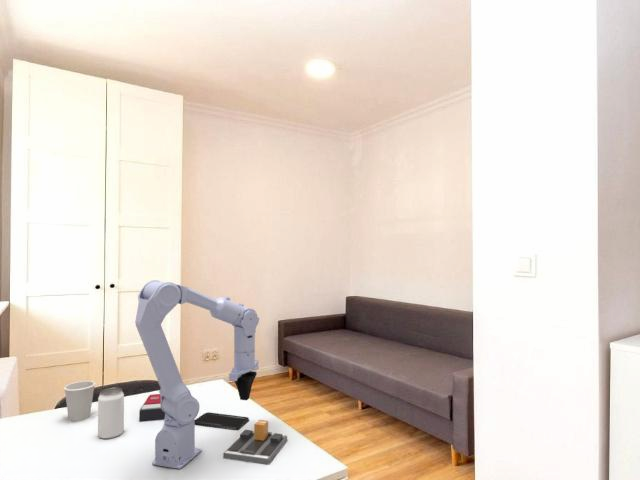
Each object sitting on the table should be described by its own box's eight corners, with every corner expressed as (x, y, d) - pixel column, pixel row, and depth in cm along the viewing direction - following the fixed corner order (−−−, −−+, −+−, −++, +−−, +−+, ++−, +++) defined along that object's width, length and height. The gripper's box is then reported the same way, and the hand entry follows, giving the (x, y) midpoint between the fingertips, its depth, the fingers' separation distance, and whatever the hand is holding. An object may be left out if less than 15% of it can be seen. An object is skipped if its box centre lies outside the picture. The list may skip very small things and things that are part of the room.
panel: (268, 464, 98) (268, 454, 98) (223, 458, 101) (223, 448, 101) (287, 440, 111) (287, 431, 111) (246, 435, 114) (246, 426, 114)
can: (113, 440, 111) (113, 395, 111) (92, 438, 112) (92, 394, 113) (128, 430, 117) (129, 387, 118) (108, 428, 119) (109, 386, 119)
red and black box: (182, 391, 140) (177, 404, 126) (182, 404, 140) (177, 419, 125) (148, 393, 138) (139, 407, 123) (148, 406, 138) (138, 422, 123)
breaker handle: (263, 440, 107) (263, 424, 107) (254, 439, 108) (254, 423, 108) (268, 435, 110) (268, 420, 110) (259, 434, 111) (259, 419, 111)
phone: (206, 412, 128) (250, 417, 124) (206, 415, 128) (250, 421, 124) (191, 422, 121) (237, 428, 116) (191, 426, 121) (237, 432, 116)
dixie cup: (84, 423, 122) (85, 389, 122) (57, 423, 122) (57, 389, 122) (100, 412, 130) (100, 380, 131) (74, 412, 131) (74, 380, 131)
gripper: (246, 357, 108) (246, 410, 107) (267, 345, 121) (267, 391, 121) (222, 356, 109) (222, 407, 109) (245, 344, 123) (245, 389, 123)
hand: (244, 399), depth 115 cm, fingers closed
